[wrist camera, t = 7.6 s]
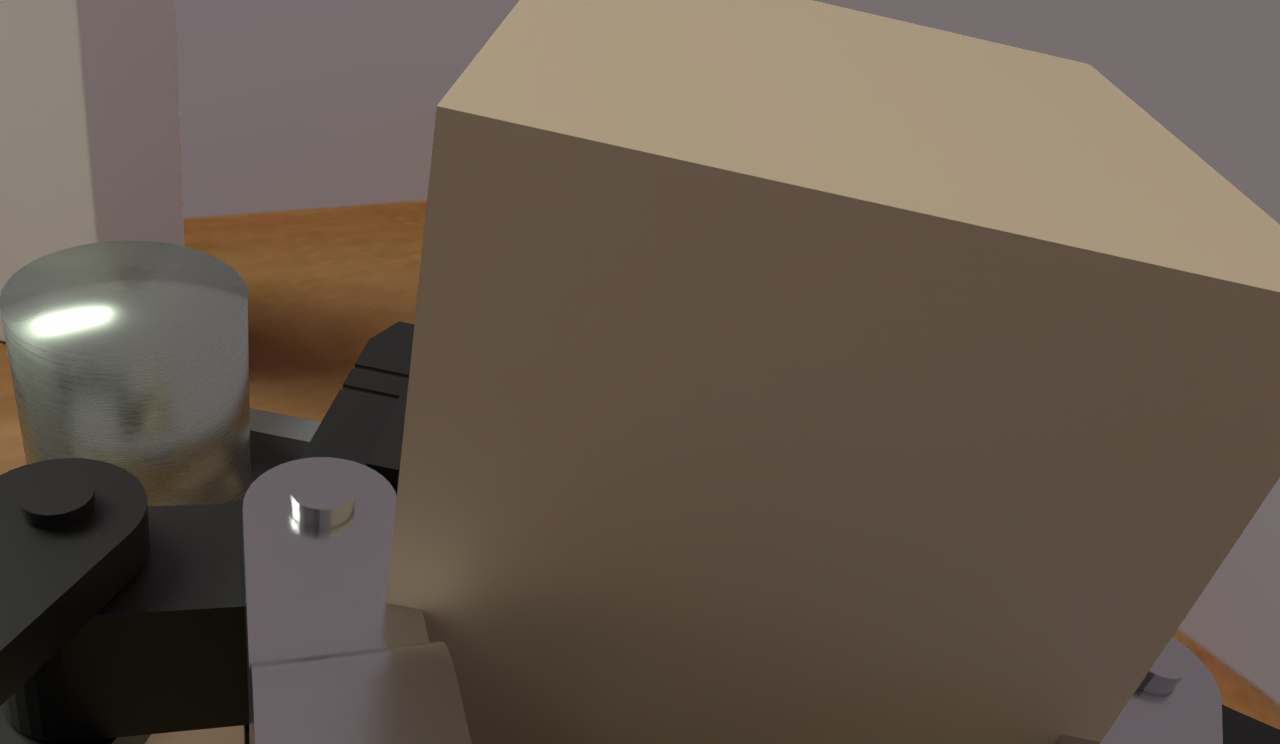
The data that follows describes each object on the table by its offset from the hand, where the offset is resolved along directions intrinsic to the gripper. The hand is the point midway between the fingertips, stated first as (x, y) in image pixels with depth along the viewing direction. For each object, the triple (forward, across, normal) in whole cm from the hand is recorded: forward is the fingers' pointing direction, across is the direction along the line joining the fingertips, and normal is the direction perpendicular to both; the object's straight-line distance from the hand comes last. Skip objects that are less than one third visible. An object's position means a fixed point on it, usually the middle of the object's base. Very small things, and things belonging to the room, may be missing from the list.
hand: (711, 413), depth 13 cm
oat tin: (+13, +14, +18) cm, 27 cm away
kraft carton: (-3, 0, +7) cm, 7 cm away
